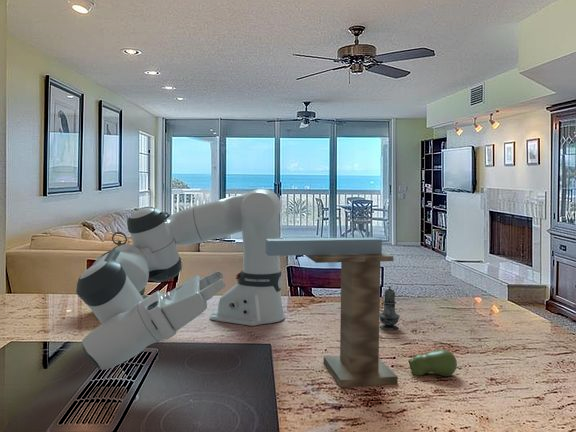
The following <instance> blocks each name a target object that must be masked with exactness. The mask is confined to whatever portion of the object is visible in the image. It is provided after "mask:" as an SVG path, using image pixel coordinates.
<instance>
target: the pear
mask: <svg viewBox="0 0 576 432" xmlns="http://www.w3.org/2000/svg"><path fill="white" fill-rule="evenodd" d="M407 361H408V364H409V369H410V371H411V372H412V375H413V376H417V377H420V376H424V375H425V374H427V373H433V374H436V375H440V376H441V377H442V376H443V377H448V376H449V377H450V376H451V375H452V374H454V373H455V372H456V370H457V368H458V367H457V366H458V363H457V359H456V355H454V354H453V353H452V352H451V351H449V350H446V349H437V350H432V351H429V352H426V353H423V354H417V355H415V356H413V357H412V358H409V360H407Z"/></svg>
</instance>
